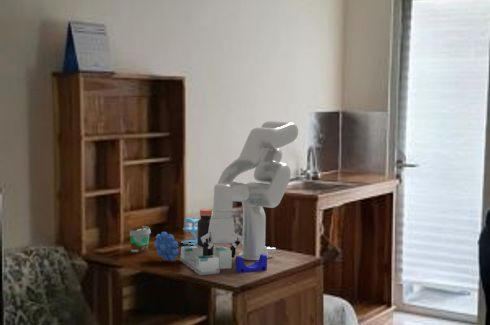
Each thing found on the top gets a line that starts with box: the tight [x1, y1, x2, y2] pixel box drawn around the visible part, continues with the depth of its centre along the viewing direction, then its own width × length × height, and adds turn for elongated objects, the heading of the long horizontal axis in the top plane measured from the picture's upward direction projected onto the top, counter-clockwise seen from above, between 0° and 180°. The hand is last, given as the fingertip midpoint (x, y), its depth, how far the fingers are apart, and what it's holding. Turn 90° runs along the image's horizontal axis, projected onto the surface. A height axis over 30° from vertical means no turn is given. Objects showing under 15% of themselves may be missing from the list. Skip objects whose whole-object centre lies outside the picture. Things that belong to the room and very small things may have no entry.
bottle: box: [196, 208, 214, 256], centre depth 299 cm, size 7×7×20 cm
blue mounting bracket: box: [235, 254, 268, 274], centre depth 279 cm, size 12×4×6 cm, turn 115°
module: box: [213, 246, 233, 270], centre depth 285 cm, size 5×7×8 cm
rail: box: [179, 245, 221, 276], centre depth 283 cm, size 8×24×6 cm, turn 23°
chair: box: [180, 217, 200, 246], centre depth 326 cm, size 8×8×12 cm
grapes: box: [153, 231, 180, 262], centre depth 291 cm, size 12×7×12 cm, turn 64°
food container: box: [129, 225, 152, 254], centre depth 307 cm, size 12×6×10 cm, turn 161°
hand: (220, 257), depth 284 cm, fingers open, 9 cm apart
